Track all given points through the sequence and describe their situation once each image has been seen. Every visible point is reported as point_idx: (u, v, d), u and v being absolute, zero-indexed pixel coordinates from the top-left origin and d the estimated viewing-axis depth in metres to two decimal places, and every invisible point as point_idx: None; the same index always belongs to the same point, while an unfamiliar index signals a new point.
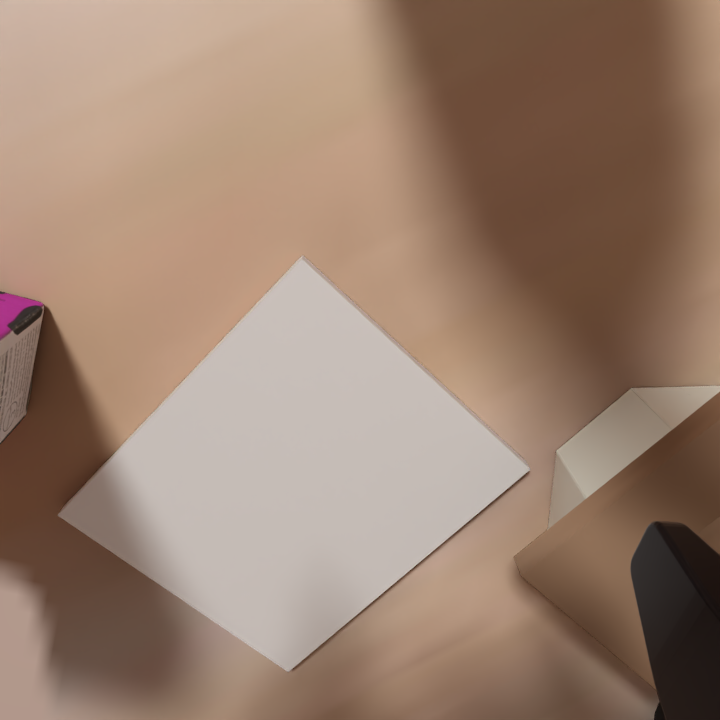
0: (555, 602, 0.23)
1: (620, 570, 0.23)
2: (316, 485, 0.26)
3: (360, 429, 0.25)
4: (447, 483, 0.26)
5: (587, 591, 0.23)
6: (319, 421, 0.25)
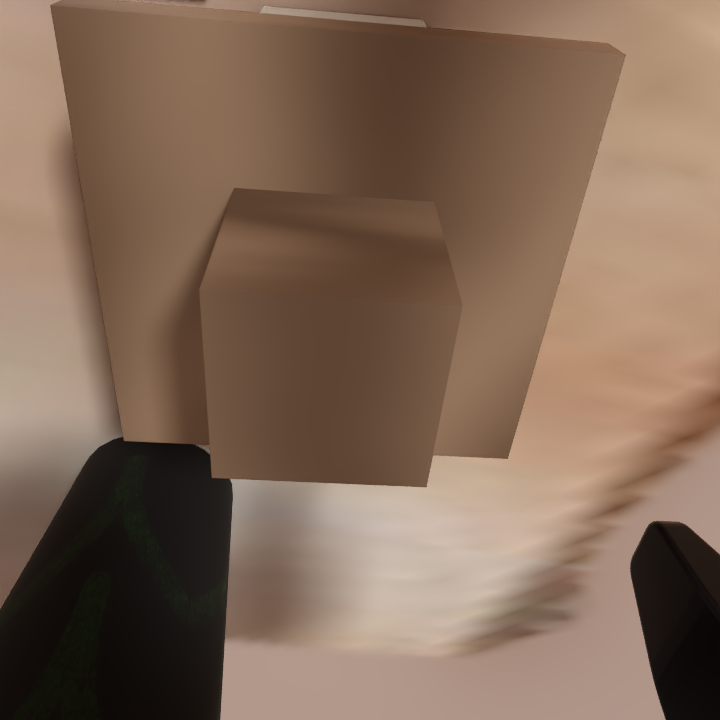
0: (72, 111, 0.12)
1: (203, 151, 0.13)
2: None
3: None
4: None
5: (132, 139, 0.13)
6: None
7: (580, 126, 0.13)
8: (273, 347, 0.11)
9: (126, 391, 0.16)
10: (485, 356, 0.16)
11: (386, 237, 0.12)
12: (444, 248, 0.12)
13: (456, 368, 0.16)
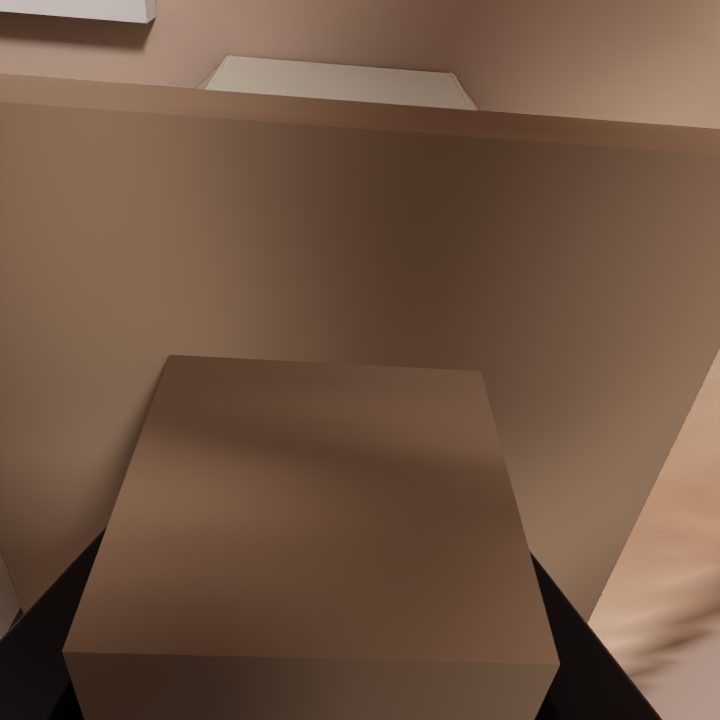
0: None
1: (116, 306, 0.08)
2: None
3: None
4: None
5: (1, 290, 0.08)
6: None
7: None
8: (211, 715, 0.06)
9: (34, 600, 0.11)
10: (544, 557, 0.11)
11: (410, 465, 0.07)
12: (508, 489, 0.07)
13: None
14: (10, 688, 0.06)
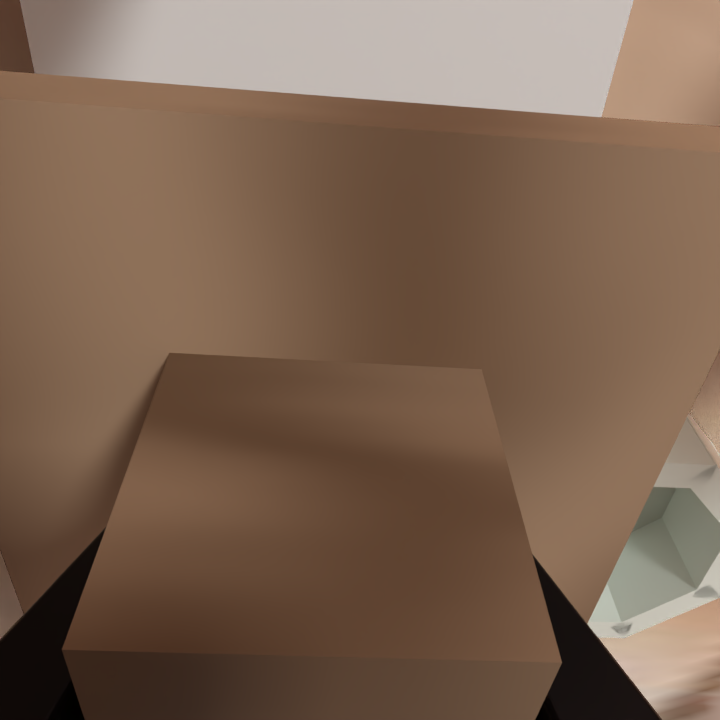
0: None
1: (116, 303, 0.08)
2: None
3: None
4: None
5: (0, 287, 0.08)
6: None
7: None
8: (211, 713, 0.06)
9: (33, 599, 0.11)
10: (545, 556, 0.11)
11: (411, 463, 0.07)
12: (509, 487, 0.07)
13: None
14: (10, 688, 0.06)
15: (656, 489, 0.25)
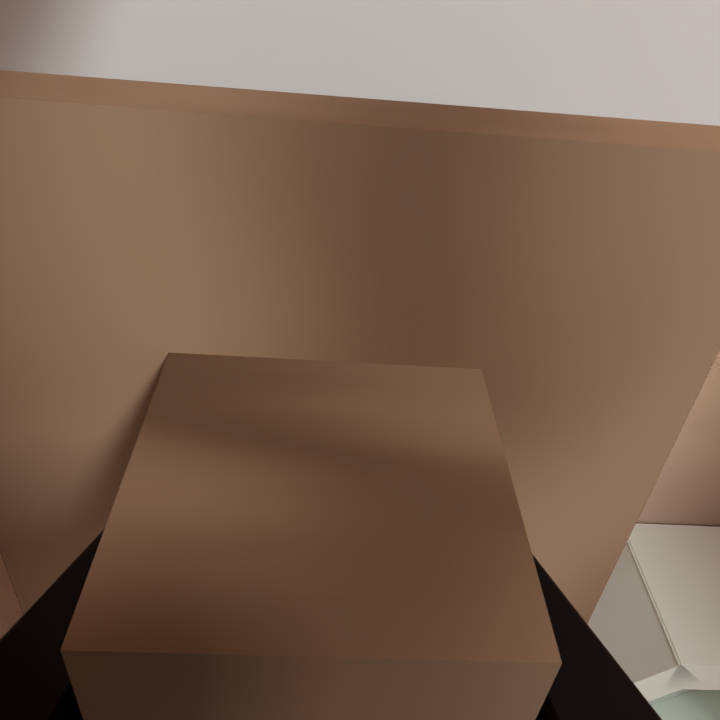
0: None
1: (115, 303, 0.08)
2: None
3: None
4: None
5: None
6: None
7: None
8: (210, 714, 0.06)
9: (33, 599, 0.11)
10: (545, 556, 0.11)
11: (410, 463, 0.07)
12: (509, 487, 0.07)
13: None
14: (10, 688, 0.06)
15: None
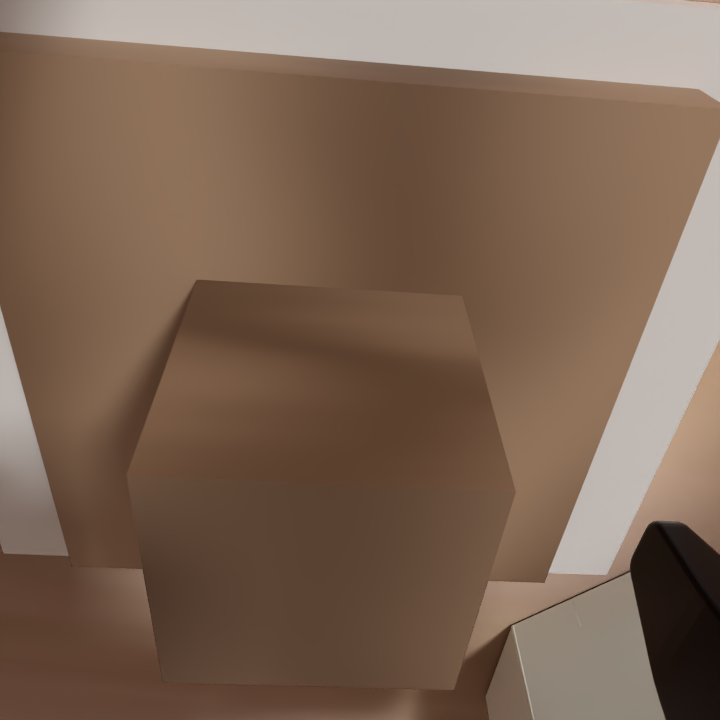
0: None
1: (153, 235, 0.10)
2: None
3: None
4: None
5: (56, 220, 0.09)
6: None
7: (662, 202, 0.09)
8: (239, 542, 0.07)
9: (70, 513, 0.13)
10: (522, 473, 0.13)
11: (400, 360, 0.09)
12: (481, 378, 0.09)
13: None
14: None
15: None
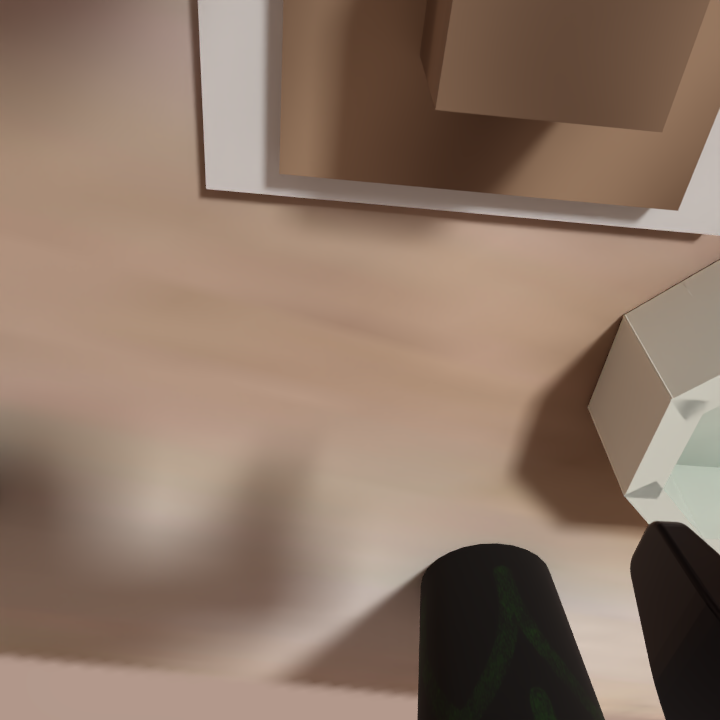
0: None
1: None
2: None
3: None
4: None
5: None
6: None
7: None
8: None
9: (292, 105, 0.15)
10: None
11: None
12: None
13: None
14: None
15: None
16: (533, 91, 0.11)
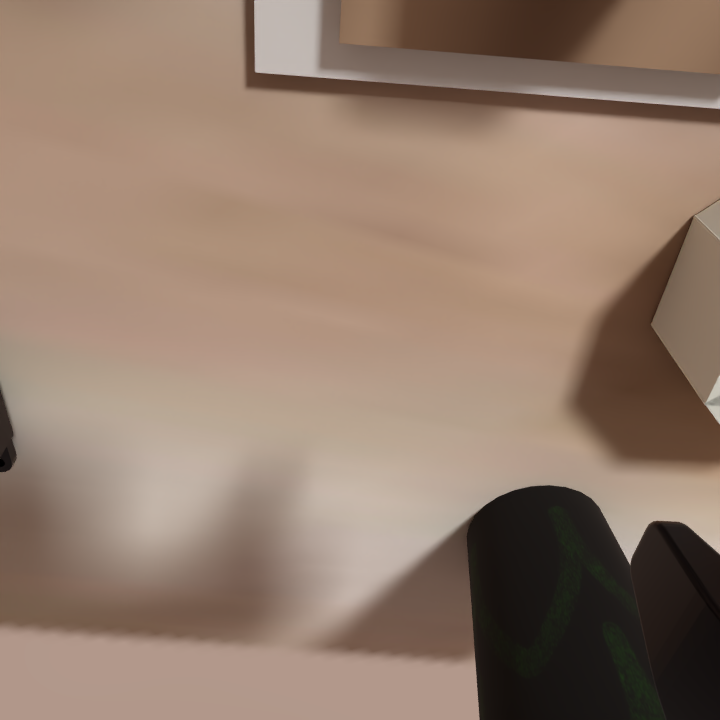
0: None
1: None
2: None
3: None
4: None
5: None
6: None
7: None
8: None
9: None
10: None
11: None
12: None
13: None
14: None
15: None
16: None
